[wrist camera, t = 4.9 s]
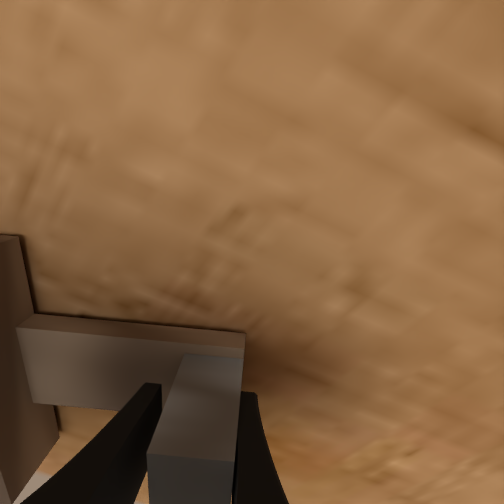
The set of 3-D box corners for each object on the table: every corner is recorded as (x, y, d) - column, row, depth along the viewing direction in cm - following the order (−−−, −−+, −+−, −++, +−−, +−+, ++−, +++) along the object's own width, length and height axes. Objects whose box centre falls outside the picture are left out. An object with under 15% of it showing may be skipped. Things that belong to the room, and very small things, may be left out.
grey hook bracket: (31, 434, 15) (-78, 567, 10) (-20, 233, 11) (-231, 294, 6) (234, 453, 15) (221, 596, 10) (253, 258, 11) (246, 338, 6)
